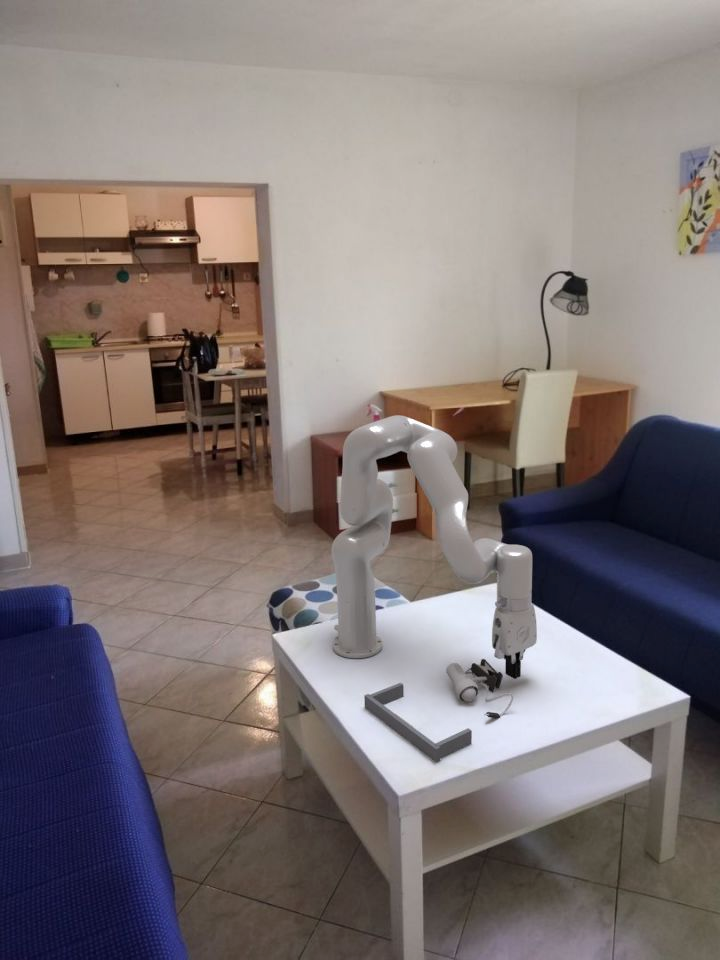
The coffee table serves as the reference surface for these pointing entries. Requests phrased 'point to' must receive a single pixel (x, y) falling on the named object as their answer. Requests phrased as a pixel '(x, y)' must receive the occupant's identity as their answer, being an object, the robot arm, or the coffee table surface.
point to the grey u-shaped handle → (407, 731)
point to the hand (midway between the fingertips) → (512, 675)
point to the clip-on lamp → (467, 686)
